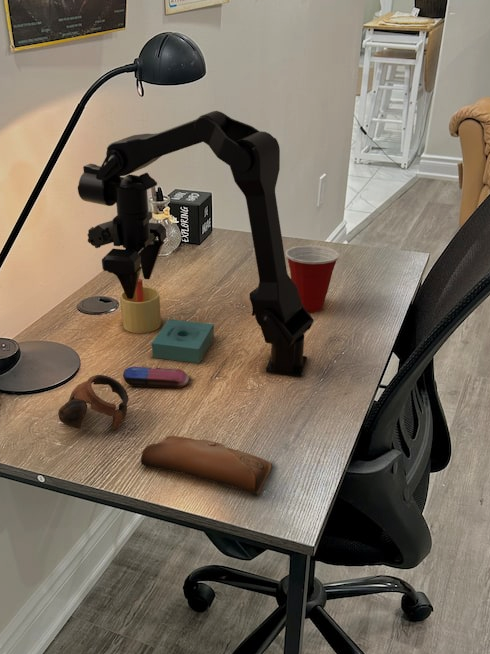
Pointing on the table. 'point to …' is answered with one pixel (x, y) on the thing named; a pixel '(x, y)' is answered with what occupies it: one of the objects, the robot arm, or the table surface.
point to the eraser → (155, 377)
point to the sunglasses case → (208, 462)
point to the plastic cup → (312, 273)
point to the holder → (183, 341)
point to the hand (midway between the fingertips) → (138, 288)
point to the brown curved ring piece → (93, 402)
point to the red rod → (139, 291)
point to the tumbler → (141, 311)
